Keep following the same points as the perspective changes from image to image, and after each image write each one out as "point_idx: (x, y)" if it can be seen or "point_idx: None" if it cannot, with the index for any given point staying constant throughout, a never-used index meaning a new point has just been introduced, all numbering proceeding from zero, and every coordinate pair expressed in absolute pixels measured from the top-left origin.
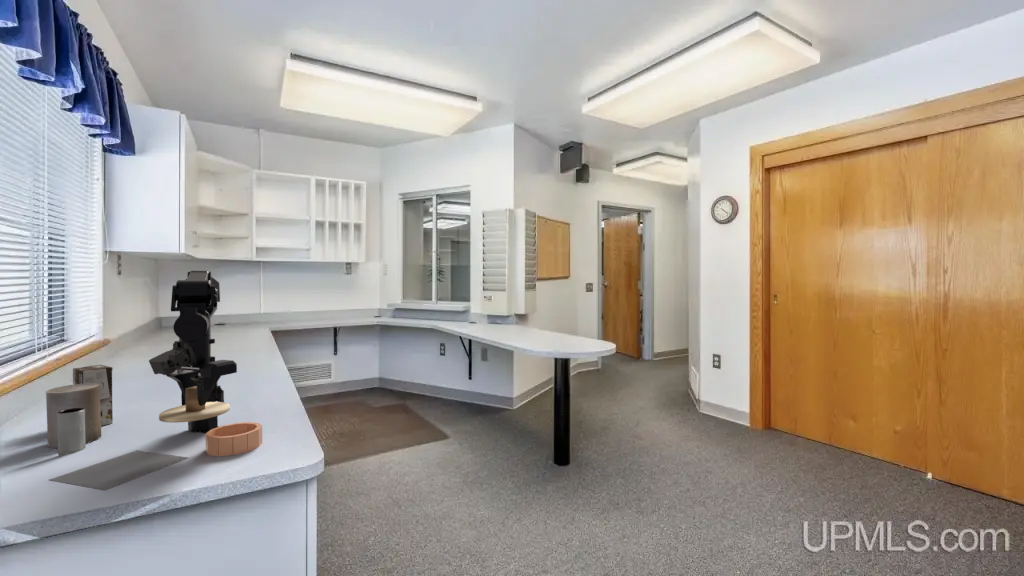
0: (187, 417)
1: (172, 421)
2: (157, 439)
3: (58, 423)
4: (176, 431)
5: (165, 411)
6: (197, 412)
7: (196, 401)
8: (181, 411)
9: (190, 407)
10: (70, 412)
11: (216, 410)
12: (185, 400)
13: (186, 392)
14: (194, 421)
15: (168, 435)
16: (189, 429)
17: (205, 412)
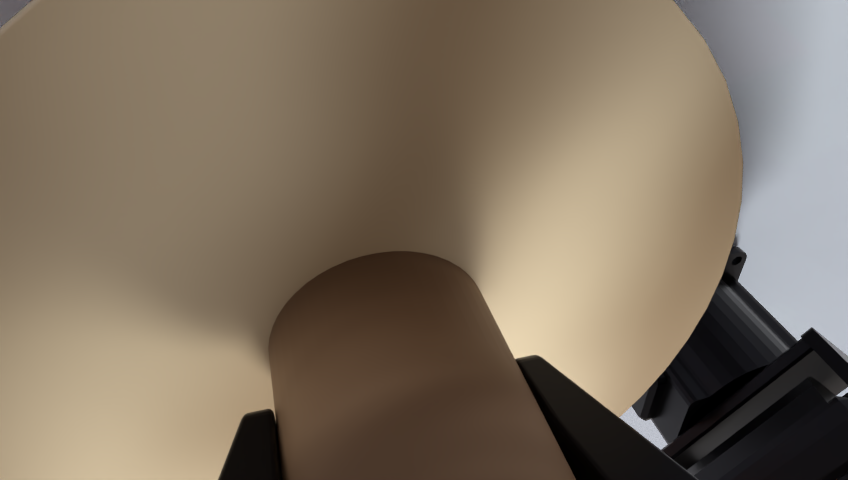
0: (7, 103)
1: None
2: (823, 156)
3: None
4: (803, 255)
5: (708, 139)
6: (214, 304)
7: (292, 441)
8: (493, 230)
9: (342, 317)
10: None
11: (74, 445)
12: (569, 383)
13: None
14: (713, 323)
15: (805, 211)
16: (731, 285)
17: (99, 353)
